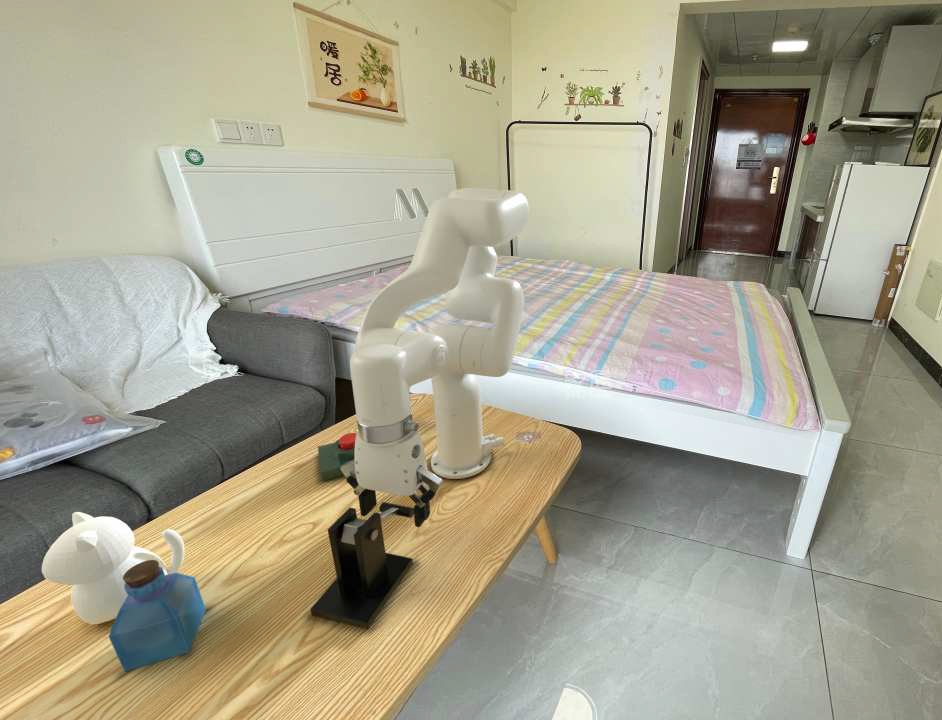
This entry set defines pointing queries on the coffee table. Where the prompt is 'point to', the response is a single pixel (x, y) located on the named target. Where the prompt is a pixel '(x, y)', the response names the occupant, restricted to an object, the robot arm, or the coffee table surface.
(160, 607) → the perfume bottle
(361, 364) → the robot arm
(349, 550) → the bracket
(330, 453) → the control box
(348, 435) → the button
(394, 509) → the lever
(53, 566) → the cat figurine
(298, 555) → the coffee table surface
